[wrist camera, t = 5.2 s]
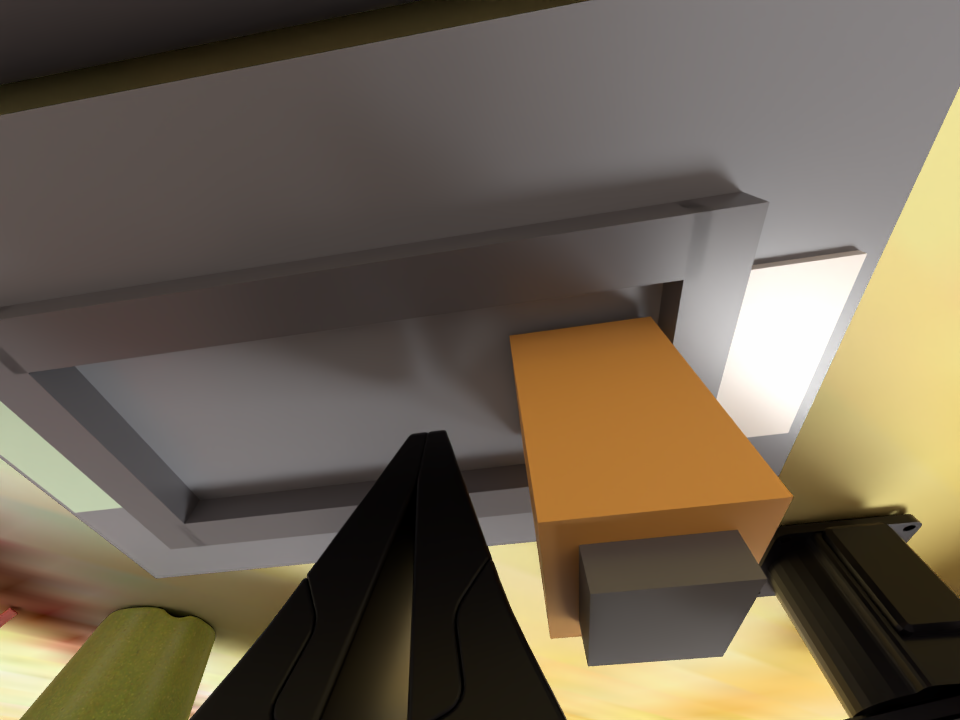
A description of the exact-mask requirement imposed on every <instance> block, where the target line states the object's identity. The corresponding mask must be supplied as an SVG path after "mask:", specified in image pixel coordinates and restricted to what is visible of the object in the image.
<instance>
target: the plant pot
mask: <svg viewBox="0 0 960 720" xmlns="http://www.w3.org/2000/svg"><path fill="white" fill-rule="evenodd" d="M214 640H215V632H214V630H213V629H212V628H211V627H210V626H209V625H208V624H207V623H205V622H204V621H203V620H202V619H200V618H197V617H193V616H187V617H183V618H177V617H173V616H171V615H169V614H168V613H167V612H166V611H165V610H164V609H160V608H157V607H144V608H127V609H122V610H118V611H115V612H113V613H111V614H110V615H109V616H108V617H107V618H106V619H105V620H104V621H103V622H102V623H101V624H100V625H99V626H98V627H97V629H96V630H95V631H94V632H93V633H92V635H91V636H90V637H89V638H88V639H87V641H86V642H85V643H84V644H83V646H82V647H81V648H80V649H79V650H78V651H77V653H76V654H75V655H74V656H73V657H72V659H71V660H70V661H69V662H68V663H67V664H66V666H65V667H64V668H63V669H62V670H61V671H60V673H59V674H58V675H57V676H56V677H55V679H54V680H53V681H52V682H51V683H50V684H49V686H48V687H47V688H46V689H45V690H44V692H43V693H42V694H41V695H40V696H39V697H38V699H37V700H36V701H35V702H34V703H33V704H32V706H31V707H30V708H29V709H28V710H27V712H26V713H25V714H24V715H23V716H22V717H21V719H20V720H188V719H189V716H190V712H191V709H192V706H193V703H194V700H195V697H196V694H197V691H198V688H199V685H200V682H201V679H202V676H203V673H204V670H205V668H206V665H207V662H208V659H209V656H210V652H211V649H212V646H213V644H214Z"/></svg>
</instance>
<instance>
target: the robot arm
mask: <svg viewBox="0 0 960 720" xmlns="http://www.w3.org/2000/svg"><path fill="white" fill-rule="evenodd" d="M921 526H922V524H921V523H920V522H919V521H918V520H917V519H916V518H915V517H914V516H913V515H911V514H904V515H893V516H883V517H872V518H862V519H852V520H841V521H831V522H820V523H810V524H799V525H789V526H781V527H778V528H777V530H776V532H775V534H774V536H773V537H772V539H771V541H770V543H769V545H768V547H767V549H766V551H765V553H764V555H763V557H762V558H761V560H760V562H759V566H760V568H761V569H762V571H763V572H764V574H765V576H766V577H767V580H766V582H765V584H764V585H763V587H762V589H761V591H760V592H759V594H758V596H757V597H764V596H776V597H777V598H778V600H779V602H780V603H781V605H782V606H783V608H784V610H785V611H786V613H787V615H788V616H789V618H790V620H791V621H792V623H793V625H794V626H795V628H796V630H797V631H798V633H799V635H800V636H801V638H802V640H803V641H804V643H805V645H806V646H807V648H808V650H809V651H810V653H811V655H812V656H813V658H814V660H815V661H816V663H817V665H818V666H819V668H820V670H821V671H822V673H823V675H824V676H825V678H826V679H827V681H828V683H829V684H830V686H831V688H832V689H833V691H834V693H835V694H836V696H837V698H838V699H839V701H840V703H841V704H842V706H843V708H844V709H845V711H846V713H847V714H848V716H849V719H845V720H960V598H959V597H958V596H957V595H956V594H955V593H954V592H953V591H952V590H951V589H950V588H949V587H948V586H947V585H946V584H945V583H944V582H943V581H942V580H941V579H940V578H939V576H938V575H937V574H936V573H935V572H934V571H933V570H932V569H931V568H930V567H929V566H928V565H927V564H926V563H925V562H924V561H923V560H922V559H921V558H920V557H919V556H918V555H917V554H916V553H915V552H914V550H913V549H912V548H911V547H910V546H909V545H908V544H907V542H908V541H909V540H910V538H911V537H912V536H913V535H914V534H915V533H916V532H917V531H918V530H919V528H920V527H921ZM190 720H567V719H566V717H565V715H564V713H563V711H562V709H561V707H560V705H559V703H558V701H557V699H556V697H555V695H554V693H553V692H552V690H551V688H550V686H549V684H548V682H547V680H546V678H545V676H544V674H543V672H542V670H541V668H540V666H539V664H538V662H537V660H536V658H535V656H534V654H533V653H532V651H531V649H530V647H529V645H528V643H527V641H526V639H525V637H524V634H523V632H522V630H521V628H520V626H519V624H518V622H517V620H516V618H515V616H514V613H513V611H512V609H511V607H510V604H509V602H508V599H507V597H506V594H505V591H504V589H503V586H502V584H501V581H500V579H499V576H498V573H497V570H496V568H495V565H494V562H493V561H492V557H491V554H490V551H489V549H488V546H487V543H486V540H485V537H484V535H483V532H482V529H481V526H480V523H479V521H478V518H477V515H476V512H475V509H474V507H473V504H472V501H471V498H470V496H469V493H468V490H467V487H466V484H465V482H464V479H463V476H462V473H461V470H460V468H459V465H458V462H457V459H456V456H455V454H454V451H453V448H452V445H451V442H450V440H449V437H448V434H447V432H446V431H445V430H438V431H430V432H429V433H428V432H421V433H413V434H411V435H410V436H409V437H408V438H407V439H406V441H405V442H404V443H403V445H402V446H401V447H400V449H399V450H398V451H397V453H396V454H395V456H394V457H393V458H392V460H391V461H390V462H389V464H388V465H387V466H386V468H385V469H384V471H383V472H382V473H381V475H380V476H379V477H378V479H377V480H376V481H375V483H374V484H373V486H372V487H371V488H370V490H369V491H368V492H367V494H366V495H365V496H364V498H363V499H362V500H361V502H360V503H359V505H358V506H357V507H356V509H355V510H354V511H353V513H352V514H351V515H350V517H349V518H348V520H347V521H346V522H345V524H344V525H343V526H342V528H341V529H340V530H339V532H338V533H337V534H336V536H335V537H334V539H333V540H332V541H331V543H330V544H329V545H328V547H327V548H326V549H325V551H324V552H323V554H322V555H321V556H320V558H319V559H318V560H317V562H316V563H315V564H314V566H313V567H312V568H311V570H310V571H309V573H308V574H307V578H305V579H303V580H302V582H301V583H300V585H299V586H298V587H297V589H296V590H295V591H294V593H293V594H292V595H291V597H290V598H289V599H288V601H287V602H286V603H285V605H284V606H283V607H282V609H281V610H280V611H279V613H278V614H277V615H276V616H275V618H274V619H273V620H272V622H271V623H270V624H269V626H268V627H267V628H266V629H265V631H264V632H263V633H262V634H261V636H260V637H259V638H258V639H257V640H256V642H255V643H254V644H253V645H252V646H251V648H250V649H249V650H248V651H247V652H246V654H245V655H244V656H243V657H242V659H241V660H240V661H239V662H238V663H237V665H236V666H235V667H234V668H233V669H232V670H231V672H230V673H229V674H228V675H227V676H226V677H225V679H224V680H223V681H222V682H221V683H220V684H219V686H218V687H217V688H216V689H215V690H214V691H213V693H212V694H211V695H210V696H209V697H208V698H207V700H206V701H205V702H204V703H203V704H202V705H201V707H200V708H199V709H198V710H197V711H196V713H195V714H194V715H193V716H192V717H191V718H190Z"/></svg>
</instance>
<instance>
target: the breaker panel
mask: <svg viewBox="0 0 960 720" xmlns="http://www.w3.org/2000/svg"><path fill="white" fill-rule="evenodd" d="M959 87H960V0H590V1H584V2H579V3H574V4H569V5H564V6H559V7H554V8H549V9H543V10H538V11H533V12H528V13H523V14H518V15H513V16H507V17H502V18H497V19H492V20H487V21H482V22H477V23H472V24H466V25H461V26H456V27H451V28H446V29H441V30H436V31H430V32H425V33H420V34H415V35H410V36H405V37H400V38H395V39H389V40H384V41H379V42H374V43H369V44H364V45H359V46H353V47H348V48H343V49H338V50H333V51H328V52H323V53H318V54H312V55H307V56H302V57H297V58H292V59H287V60H282V61H276V62H271V63H266V64H261V65H256V66H251V67H246V68H241V69H235V70H230V71H225V72H220V73H215V74H210V75H205V76H199V77H194V78H189V79H184V80H179V81H174V82H169V83H164V84H158V85H153V86H148V87H143V88H138V89H133V90H128V91H122V92H117V93H112V94H107V95H102V96H97V97H92V98H87V99H81V100H76V101H71V102H66V103H61V104H56V105H51V106H45V107H40V108H35V109H30V110H25V111H20V112H15V113H10V114H4V115H0V458H1V459H2V460H3V461H5V462H6V463H7V464H9V465H10V466H11V467H13V468H14V469H15V470H16V471H18V472H19V473H20V474H22V475H23V476H24V477H25V478H27V479H28V480H29V481H31V482H32V483H33V484H35V485H36V486H37V487H38V488H40V489H41V490H42V491H44V492H45V493H46V494H47V495H49V496H50V497H51V498H53V499H54V500H55V501H57V502H58V503H59V504H60V505H62V506H63V507H64V508H66V509H67V510H68V511H69V512H71V513H72V514H73V515H75V516H76V517H77V518H79V519H80V520H81V521H82V522H84V523H85V524H86V525H88V526H89V527H90V528H91V529H93V530H94V531H95V532H97V533H98V534H99V535H101V536H102V537H103V538H104V539H106V540H107V541H108V542H110V543H111V544H112V545H113V546H115V547H116V548H117V549H119V550H120V551H121V552H123V553H124V554H125V555H126V556H128V557H129V558H130V559H132V560H133V561H134V562H135V563H137V564H138V565H139V566H141V567H142V568H143V569H145V570H146V571H147V572H148V573H150V574H151V575H152V576H154V577H155V578H165V577H176V576H186V575H196V574H207V573H217V572H227V571H237V570H248V569H258V568H268V567H278V566H289V565H299V564H309V563H316V562H317V560H318V559H319V558H320V556H321V555H322V554H323V552H324V551H325V549H326V548H327V547H328V545H329V544H330V543H331V541H332V540H333V539H334V537H335V536H336V534H337V533H338V532H339V530H340V529H341V528H342V526H343V525H344V524H345V522H346V521H347V520H348V518H349V517H350V515H351V514H352V513H353V511H354V510H355V509H356V507H357V506H358V505H359V503H360V502H361V500H362V499H363V498H364V496H365V495H366V494H367V492H368V491H369V490H370V488H371V487H372V486H373V484H374V483H375V481H376V480H377V479H378V477H379V476H380V475H381V473H382V472H383V471H384V469H385V468H386V466H387V465H388V464H389V462H390V461H391V460H392V458H393V457H394V456H395V454H396V453H397V451H398V450H399V449H400V447H401V446H402V445H403V443H404V442H405V441H406V439H407V438H408V437H409V436H410V435H411V434H413V433H421V432H428V433H429V432H430V431H438V430H445V431H446V432H447V434H448V437H449V440H450V442H451V445H452V448H453V451H454V454H455V456H456V459H457V462H458V465H459V468H460V470H461V473H462V476H463V479H464V482H465V484H466V487H467V490H468V493H469V496H470V498H471V501H472V504H473V507H474V509H475V512H476V515H477V518H478V521H479V523H480V526H481V529H482V532H483V535H484V537H485V540H486V543H487V546H494V545H505V544H515V543H525V542H535V541H536V534H535V527H534V520H533V513H532V506H531V500H530V493H529V486H528V479H527V472H526V465H525V458H524V451H523V443H522V435H521V427H520V419H519V411H518V402H517V394H516V386H515V378H514V370H513V362H512V354H511V345H510V337H509V336H510V335H518V334H525V333H532V332H540V331H547V330H555V329H562V328H569V327H577V326H584V325H591V324H599V323H606V322H613V321H621V320H628V319H636V318H643V317H650V316H651V318H652V319H653V320H654V321H655V323H656V324H657V325H658V326H659V328H660V329H661V330H662V331H663V333H664V334H665V335H666V336H667V338H668V339H669V340H670V341H671V343H672V344H673V345H674V347H675V348H676V349H677V350H678V352H679V353H680V354H681V355H682V357H683V358H684V359H685V360H686V362H687V363H688V364H689V365H690V367H691V368H692V369H693V370H694V372H695V373H696V374H697V376H698V377H699V378H700V379H701V381H702V382H703V383H704V384H705V386H706V387H707V388H708V389H709V391H710V392H711V393H712V394H713V396H714V397H715V398H716V399H717V401H718V402H719V403H720V405H721V406H722V407H723V408H724V410H725V411H726V412H727V413H728V415H729V416H730V417H731V418H732V420H733V421H734V422H735V423H736V425H737V426H738V427H739V428H740V430H741V431H742V432H743V434H744V435H745V436H746V437H747V439H748V440H749V441H750V442H751V444H752V445H753V446H754V447H755V449H756V450H757V451H758V452H759V454H760V455H761V456H762V457H763V459H764V460H765V461H766V463H767V464H768V465H769V466H770V468H771V469H772V470H773V471H774V473H775V474H776V475H777V476H778V477H779V474H780V472H781V470H782V468H783V466H784V464H785V462H786V459H787V457H788V455H789V453H790V451H791V449H792V446H793V444H794V442H795V440H796V438H797V436H798V434H799V431H800V429H801V427H802V425H803V423H804V421H805V418H806V416H807V414H808V412H809V410H810V408H811V406H812V403H813V401H814V399H815V397H816V395H817V393H818V390H819V388H820V386H821V384H822V382H823V380H824V378H825V375H826V373H827V371H828V369H829V367H830V365H831V362H832V360H833V358H834V356H835V354H836V352H837V350H838V347H839V345H840V343H841V341H842V339H843V337H844V334H845V332H846V330H847V328H848V326H849V324H850V322H851V319H852V317H853V315H854V313H855V311H856V309H857V306H858V304H859V302H860V300H861V298H862V296H863V294H864V291H865V289H866V287H867V285H868V283H869V281H870V278H871V276H872V274H873V272H874V270H875V268H876V266H877V263H878V261H879V259H880V257H881V255H882V253H883V250H884V248H885V246H886V244H887V242H888V240H889V238H890V235H891V233H892V231H893V229H894V227H895V225H896V222H897V220H898V218H899V216H900V214H901V212H902V210H903V207H904V205H905V203H906V201H907V199H908V197H909V194H910V192H911V190H912V188H913V186H914V184H915V182H916V179H917V177H918V175H919V173H920V171H921V169H922V166H923V164H924V162H925V160H926V158H927V156H928V154H929V151H930V149H931V147H932V145H933V143H934V141H935V138H936V136H937V134H938V132H939V130H940V128H941V126H942V123H943V121H944V119H945V117H946V115H947V113H948V110H949V108H950V106H951V104H952V102H953V100H954V98H955V95H956V93H957V91H958V89H959Z"/></svg>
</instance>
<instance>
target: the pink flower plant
mask: <svg viewBox="0 0 960 720" xmlns="http://www.w3.org/2000/svg"><path fill="white" fill-rule="evenodd" d="M17 614H18V613H17V612H16V611H15V610H13V609H12V608H9V609H8V610H6V611H5V612H4V613H2V614H1V615H0V627H1V626H3V625H4V624H5V623H7V622H8V621H9V620H10V619H12V618H13V617H14V616H16V615H17Z"/></svg>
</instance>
